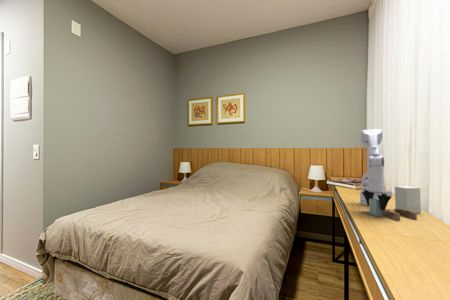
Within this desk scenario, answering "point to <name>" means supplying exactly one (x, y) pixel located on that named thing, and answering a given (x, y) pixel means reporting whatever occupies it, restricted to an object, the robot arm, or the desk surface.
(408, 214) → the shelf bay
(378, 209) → the block
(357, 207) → the desk surface
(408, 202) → the supplement box
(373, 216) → the mat
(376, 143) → the robot arm
